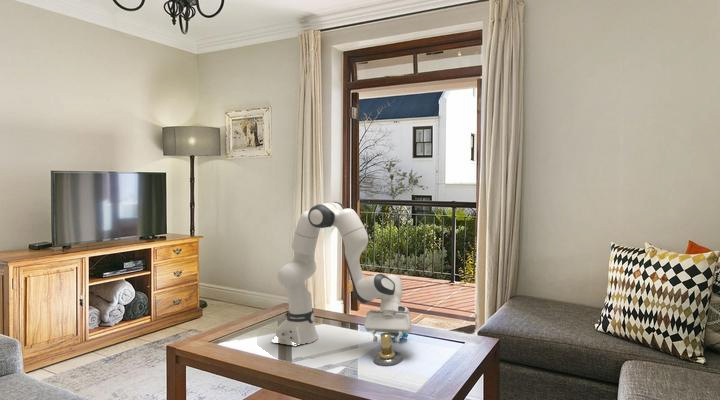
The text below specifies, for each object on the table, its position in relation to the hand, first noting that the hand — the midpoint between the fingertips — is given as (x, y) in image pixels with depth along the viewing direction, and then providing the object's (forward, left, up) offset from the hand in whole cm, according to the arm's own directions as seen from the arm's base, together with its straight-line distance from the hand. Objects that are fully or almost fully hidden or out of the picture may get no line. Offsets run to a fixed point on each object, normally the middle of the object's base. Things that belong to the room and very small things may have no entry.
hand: (385, 341), depth 187 cm
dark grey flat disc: (0, +1, -8) cm, 8 cm away
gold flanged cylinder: (0, +1, -7) cm, 7 cm away
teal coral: (0, +22, -8) cm, 23 cm away
